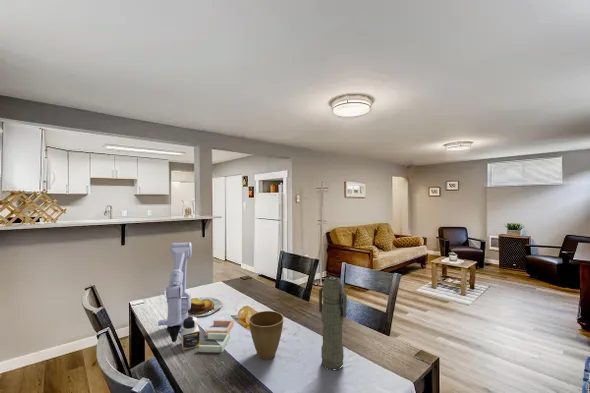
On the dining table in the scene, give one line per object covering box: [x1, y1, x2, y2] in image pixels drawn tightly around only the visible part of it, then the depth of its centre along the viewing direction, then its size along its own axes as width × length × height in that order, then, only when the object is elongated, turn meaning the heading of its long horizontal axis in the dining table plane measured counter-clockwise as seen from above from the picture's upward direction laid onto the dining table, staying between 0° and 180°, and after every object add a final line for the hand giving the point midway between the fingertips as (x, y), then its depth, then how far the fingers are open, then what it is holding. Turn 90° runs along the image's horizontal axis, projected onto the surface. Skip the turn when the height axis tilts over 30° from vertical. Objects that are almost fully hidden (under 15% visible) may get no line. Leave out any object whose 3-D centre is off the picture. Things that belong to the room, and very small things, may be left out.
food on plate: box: [188, 296, 223, 317], centre depth 170 cm, size 26×25×7 cm
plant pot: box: [248, 310, 285, 360], centre depth 121 cm, size 15×15×16 cm
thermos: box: [318, 275, 348, 370], centre depth 115 cm, size 9×12×35 cm
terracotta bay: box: [205, 319, 235, 337], centre depth 143 cm, size 10×12×2 cm
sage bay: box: [198, 332, 231, 353], centre depth 129 cm, size 10×12×2 cm
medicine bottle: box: [180, 316, 201, 351], centre depth 129 cm, size 7×7×12 cm
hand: (174, 340), depth 130 cm, fingers closed
